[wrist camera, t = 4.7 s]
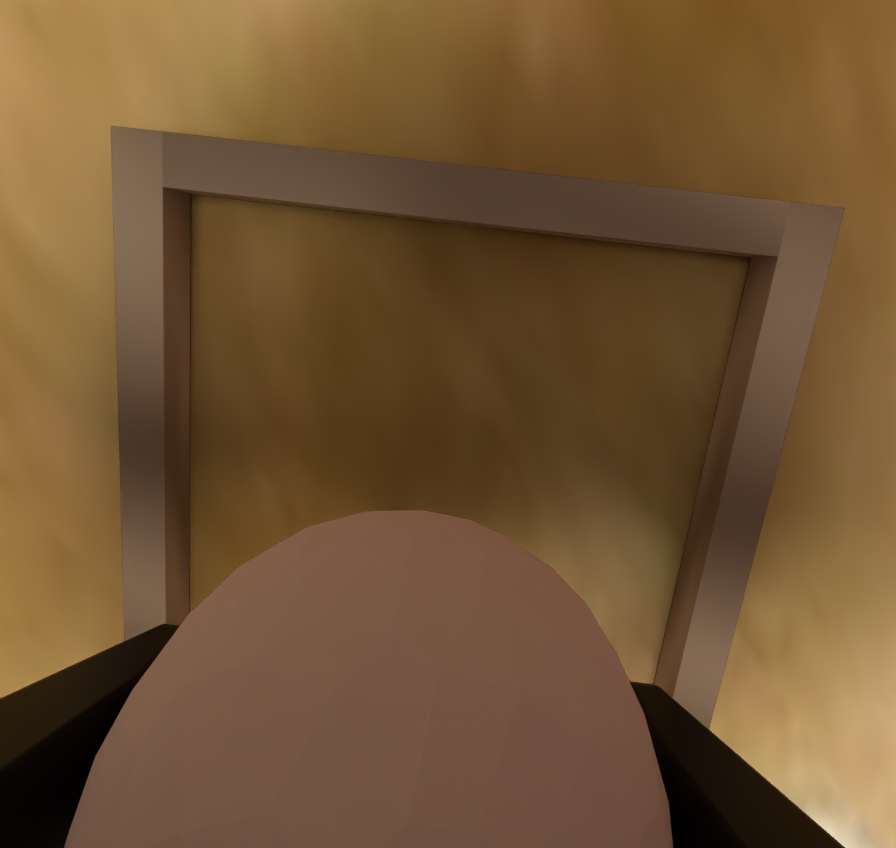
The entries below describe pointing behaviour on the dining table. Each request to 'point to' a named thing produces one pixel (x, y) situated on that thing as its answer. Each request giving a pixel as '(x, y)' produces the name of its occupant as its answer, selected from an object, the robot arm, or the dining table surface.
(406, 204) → the walnut frame
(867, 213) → the dining table surface
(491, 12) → the dining table surface
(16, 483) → the dining table surface
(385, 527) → the egg
